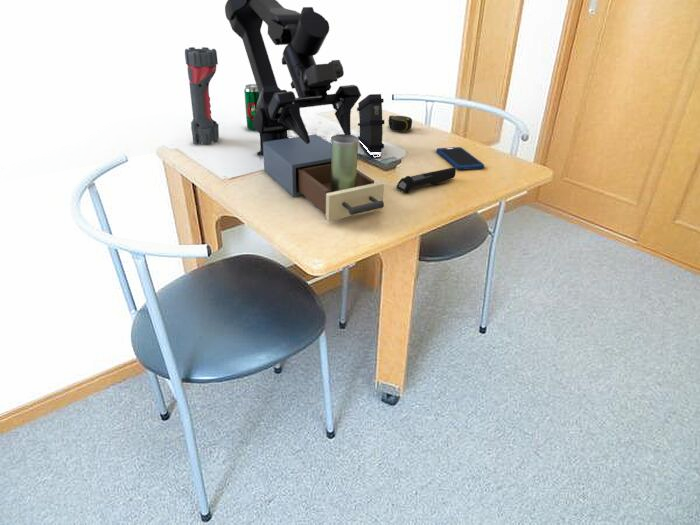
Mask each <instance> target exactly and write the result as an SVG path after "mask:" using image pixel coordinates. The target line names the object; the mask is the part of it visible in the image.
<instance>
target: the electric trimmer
mask: <svg viewBox="0 0 700 525" xmlns="http://www.w3.org/2000/svg"><path fill="white" fill-rule="evenodd" d="M456 174H457V169H456V168H455V167H449V168H445V169H440V170H435V171H430V172H425V173H422V174H421V173H420V174H416V175H411V176H410V175H406V176H405V177H402V178H401V179H400V180H399V181H398V182H397V185H396V190H397V191H399V192H401V193H402V194H404V193H405V194H409V193H410V192H411V191H412V190H415V189H418V188H423V187H426V186H429V185H431V186H437V185H439V184H442V183H445V182H447V181H449V180H452V179H454V178H455V177H456Z"/></svg>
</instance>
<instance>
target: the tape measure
mask: <svg viewBox="0 0 700 525" xmlns="http://www.w3.org/2000/svg"><path fill="white" fill-rule="evenodd" d="M387 121H388V126H389V127H388V128H389V129H390V130H393V131H397V132H399V133H404V132H407V131H411V129H412V126H413V119H412V117H410V116H406V115H389V116H388V120H387Z"/></svg>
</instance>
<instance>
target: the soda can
mask: <svg viewBox="0 0 700 525" xmlns="http://www.w3.org/2000/svg"><path fill="white" fill-rule="evenodd" d="M243 93H244V105H245V106H244V107H245V116H246V118H245V119H246V128H247V129H248V130H249V131H250V132H251V131H252V132H257V131H256V130H254V125H253V119H254V117H255V114H256V112H257V108H256V106H257V102H258V99H259V92H258V88H257V85H256V83H248V84H245V86H244V90H243Z"/></svg>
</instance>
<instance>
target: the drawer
mask: <svg viewBox="0 0 700 525" xmlns="http://www.w3.org/2000/svg"><path fill="white" fill-rule="evenodd" d="M298 186H299V191H300V192H301V193H302V194H303V195H302V196H304V197H306V199H308V200H309V201H310V202H311V203H312V204H313V205H315V206H316V207H317V208H318V209H319V210H320V211H322V212H323V213H324V214H325V220H326V221H328V222H331V221H336V220H339V219H340V220H341V219H343V218H348V217H351V216H355V215H360V214H365V213H368V212H373V211H376V210H380V209H383V208H384V207H385V202H384V196H385V195H384V194H385V183H384V182H382V181H378V182H375V180H374V179H372V178H371V177H369V176H368V175H366V173H363V172H362V171H360V170H359V169H357V175H356V187H354V188H349V189H345V190H340V191H335V192H331V163H330V164H325V165H319V166H314V167H308V168H303V169H298Z"/></svg>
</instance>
